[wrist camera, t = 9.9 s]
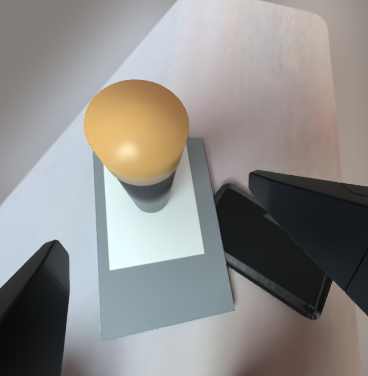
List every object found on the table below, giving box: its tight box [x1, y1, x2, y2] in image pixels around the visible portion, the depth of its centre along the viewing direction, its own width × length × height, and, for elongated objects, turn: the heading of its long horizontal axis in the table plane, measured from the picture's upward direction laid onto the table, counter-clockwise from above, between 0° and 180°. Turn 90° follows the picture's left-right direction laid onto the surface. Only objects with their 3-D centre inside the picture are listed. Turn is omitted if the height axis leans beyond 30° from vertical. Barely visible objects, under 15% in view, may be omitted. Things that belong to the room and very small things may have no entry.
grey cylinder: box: [84, 80, 189, 213], centre depth 13 cm, size 4×4×13 cm
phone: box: [214, 184, 333, 320], centre depth 21 cm, size 8×1×15 cm
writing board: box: [93, 138, 235, 341], centre depth 19 cm, size 18×12×1 cm, turn 9°
